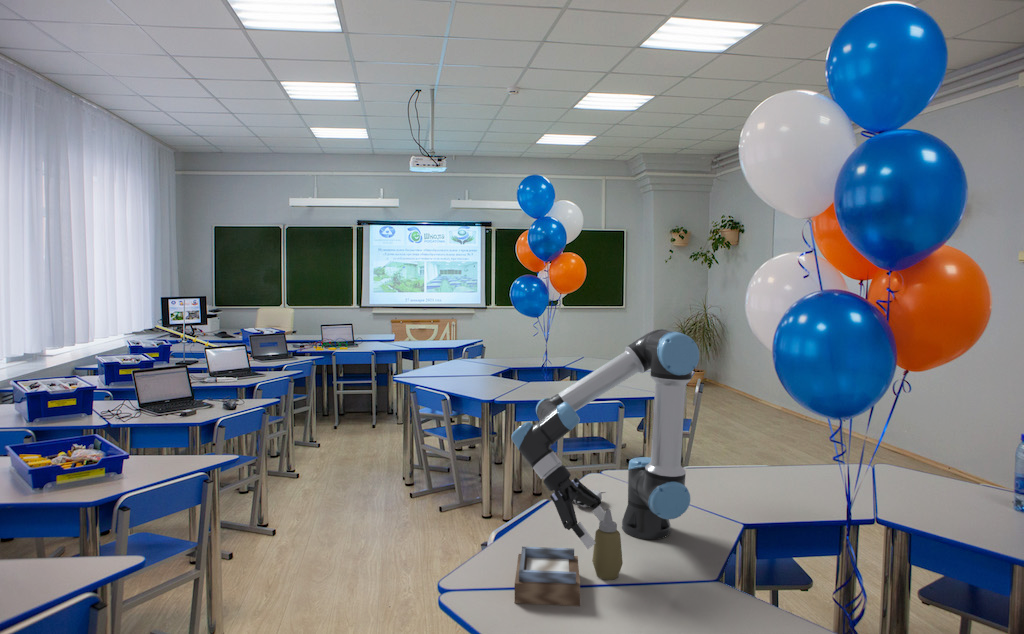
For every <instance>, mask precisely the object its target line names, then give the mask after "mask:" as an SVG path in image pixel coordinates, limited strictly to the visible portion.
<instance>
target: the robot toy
mask: <svg viewBox="0 0 1024 634" xmlns="http://www.w3.org/2000/svg"><path fill="white" fill-rule="evenodd" d="M589 490H590V491H592V492H593V493H594V494H595V495H597V496H598V497H599V498H600V499H601V501H602V499H603V498H602V494H606V493H607V492H606V491H602V492H601V491H600V490H596V489H595V490H594V489H589ZM573 503H574V504H575V505H577V506H580V507H582V508H583V509H585V508H589V507H588V506H587V505H585V504H583V503H581V502H580V501H578V500H573Z"/></svg>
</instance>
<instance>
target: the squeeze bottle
mask: <svg viewBox="0 0 1024 634" xmlns="http://www.w3.org/2000/svg"><path fill="white" fill-rule="evenodd" d="M604 512H605V516H604V520H603V521H599V525H598V526H599V527H598V528H597V530H595V535H594V541H595V542H596V543H595V544H594V545H593V552H592V561H591V562H592V565H593V568H594V572H595V574H596V576H597V577H598V578H599V579H601V580H606V581H613V580H616V579H617V578H618V577H619V575H620V572H621V568H622V566H623V553H622V552H623V551H622V550H623V549H622V541H621V540H622V538H621V533H620V531H619V530H617V528H618V527H617V526H618V523H617V522H616V521H614V520H613V516H612V511H611V509H608V508H605V511H604Z"/></svg>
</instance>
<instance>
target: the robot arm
mask: <svg viewBox="0 0 1024 634" xmlns="http://www.w3.org/2000/svg"><path fill="white" fill-rule="evenodd" d="M699 360H700V350H699V346H698V345H697V343H696V342H695V340H694V339H693V338H692V337H691V336H689V335H687V334H685V333H683V332H680V331H675V330H673V331H672V330H669V329H663V328H662V329H661V328H660V329H655V330H652V331H650V332H647V333H646V334H644V335H643V336H641V337H639V338H638V339H637V340H635V341H633V342H632V343H630V344H629V345H627V346H625V348H624V352H622V353H620V354H619V355H617V356H616V357H614V358H612V359H611V360H609V361H608V362H606V363H605V364H603V365H601V366H600V367H598V368H597V369H595V370H593V371H591V372H590V373H589V374H587V375H585V376H584V377H582V378H581V379H579V380H578V381H576V382H574V383H573V384H571V385H570V386H568V387H567V388H565V389H562V390H561V391H560V392H557V393H556V394H555V395H553V396H551V397H550V398H549V397H548V398H543V399H541V400H539V401H538V402H537V404H536V407H535V413H536V414H535V415H536V416H537V419H538V422H536V423H535V424H534V423H532V422H531V421H526V422H524V423H523V424H522V425H520V426H519V427H517V428H516V429H515V430H514V431H512V434H511V441H512V443H513V444H514V445H515V447H516V448H517V450H518V452H520V454H521V455H522V456H523V458H524V459H525V460H526V461H527V463H528V464H529V465H530V466H531V468H532V469H533V470H534V472H535V474H536V475H538V477H539V478H540V480H543V481H542V482H543V484H544V485H545V487H546V488H547V489H548V491H549V492H553V491H554V492H553V493H552V494H551V495H549V496H550V497H549V498H550V499H551V500H552V502H553V504H554V506H555V508H556V511H557V513H558V516H559V519H560V521H561V523H562V527H563V528H564V529H565V530H566V529H567V530H568V531H570V530H572V531H573V532H574V533H575V535H576V536H577V537H578V538H579V539H580V541H581V543H582V544H583V545H584V547H585V548H586V549H587V550H589V549H590V548H591V547H594V544H595V543H596V542H595V539H594V538H593V537H592V536H591V535H590V533H589V532H588V531H587V529H586V528H585V526H584V525H583V524H582V523H581V521H579V522H578V519H577V515H576V511H575V507H574V501H573V500H578V501H580V502H581V503H583V504H585V505H587V506H588V507H587V508H590V509H592V510H591V512H592V513H593V515H594V516H595V517H596V518H597V520H598V521H599V522H600V521H603V520H604V516H605V512H606V511H605V510H604V509H603V508H602V505H601V504H602V503H603V502H602V500H601V499H600V498H599V497H598V496H597V495H595V494H594V493H593V492H592V491H590V490H591V489H589V488H588V487H586V485H584V484H583V483H582V482H581V481H580V479H578V477H575V478H573V479H570V477H571V475H572V474H571V472H570V471H569V470H568V468H567V467H566V466H565V465H563V464H562V461H561V459H560V458H559V457H558V455H556V453H555V452H554V450H553V449H552V448H551V447H552V445H554V444H555V443H556V442H558V441H559V440H560V439H561V438H563V437H564V436H566V435H567V434H568V433H570V431H572V430H573V429H574V428H575V427H576V426H577V425H578V424H579V423H580V421H581V418H580V416H579V414H578V413H577V411H578V410H580V409H581V408H583V407H585V406H586V405H588V404H590V403H591V402H593V401H595V400H597V398H600V397H601V396H602V395H604V394H606V393H608V392H609V391H610V390H612V389H614V388H616V387H617V386H618V385H620V384H621V383H623V382H625V381H627V380H628V379H629V378H631V377H632V376H635V375H636V374H637V373H640V374H641V373H642V374H644V373H645V372H647V371H648V370H650V378H651V379H652V380H653V381H654V382H655V383H654V384H655V386H654V402H653V416H652V417H653V419H652V420H653V421H652V435H651V436H652V437H651V451H650V452H651V454H650V456H648V457H647V456H645V457H644V456H642V457H641V456H640V457H634V458H633V457H632V459H630V460H629V461H628V469H627V470H628V472H627V473H628V476H627V477H628V478H627V479H628V480H627V506H626V508H625V510H624V511H625V512H624V514H623V516H622V517H623V518H622V522H621V529H622V531H623V532H624V533H625V534H627V535H629V536H631V537H634V538H637V539H643V540H659V539H658V538H661V539H664V538H663V537H665V536H667V535H668V534H669V533H670V534H671V523H670V520H674V519H678V518H680V517H681V516H682V515H683V514H684V513H686V511H687V510H688V509H689V507H690V504H691V493H690V491H689V489H688V487H687V486H686V471H687V470H685V468H683V466H682V465H681V464H682V449H683V447H682V446H683V433H684V432H683V429H684V419H685V418H684V417H685V416H684V415H685V398H686V386H687V384H688V383H690V382H691V380H692V378H693V377H692V375H693V371H694V369H695V368H697V367H698V365H699V362H700V361H699ZM670 534H669V535H670ZM669 535H668V536H669ZM668 536H667V537H668ZM665 538H666V537H665Z"/></svg>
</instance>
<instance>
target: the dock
mask: <svg viewBox="0 0 1024 634" xmlns="http://www.w3.org/2000/svg"><path fill="white" fill-rule="evenodd" d="M579 567H580V566H579V557H578V555H575V548H574V547H573V548H572V547H571V548H570V547H569V548H568V547H539V546H521V552H520V553H518V556H517V564H516V570H515V580H514V604H523V605H524V604H525V605H527V604H528V605H548V606H549V605H550V606H551V605H552V606H572V607H574V606H575V607H581V579H580V569H579Z"/></svg>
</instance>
